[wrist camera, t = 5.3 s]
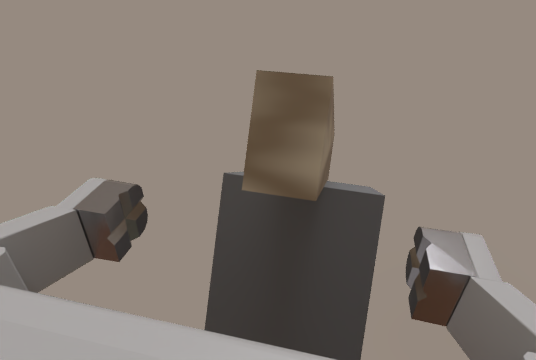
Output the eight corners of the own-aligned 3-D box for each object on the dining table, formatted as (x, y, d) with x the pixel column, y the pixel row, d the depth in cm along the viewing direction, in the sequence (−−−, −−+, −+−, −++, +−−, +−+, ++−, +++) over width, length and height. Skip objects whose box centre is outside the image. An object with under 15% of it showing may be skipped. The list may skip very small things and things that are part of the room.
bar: (327, 179, 31) (334, 133, 31) (315, 200, 11) (333, 76, 11) (299, 175, 31) (306, 130, 31) (241, 189, 12) (256, 70, 12)
